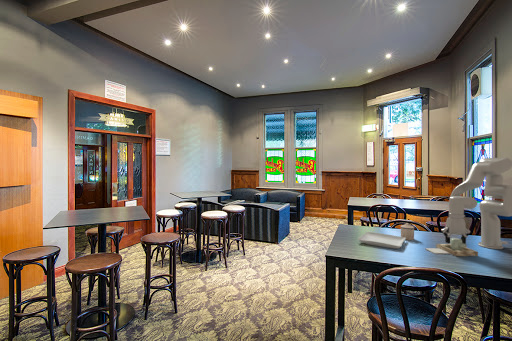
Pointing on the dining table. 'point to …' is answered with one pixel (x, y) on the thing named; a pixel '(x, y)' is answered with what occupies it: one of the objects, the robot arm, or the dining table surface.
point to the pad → (436, 250)
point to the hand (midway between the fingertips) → (455, 243)
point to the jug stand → (463, 252)
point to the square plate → (382, 240)
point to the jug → (456, 244)
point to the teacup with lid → (407, 231)
